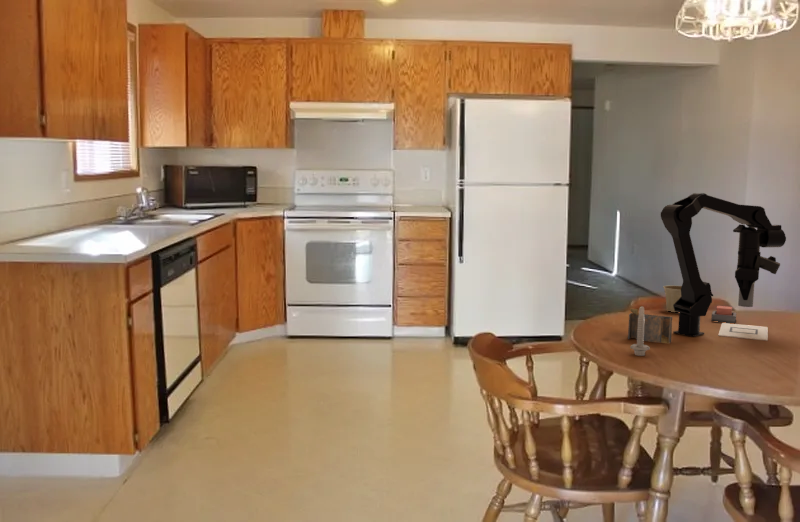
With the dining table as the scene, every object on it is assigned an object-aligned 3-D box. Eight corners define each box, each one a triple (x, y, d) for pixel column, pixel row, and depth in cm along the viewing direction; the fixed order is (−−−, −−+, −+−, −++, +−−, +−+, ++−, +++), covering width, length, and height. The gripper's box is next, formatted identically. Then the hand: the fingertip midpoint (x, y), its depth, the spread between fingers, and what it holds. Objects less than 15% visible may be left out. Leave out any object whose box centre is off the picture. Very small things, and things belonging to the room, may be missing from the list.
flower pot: (695, 314, 240) (696, 289, 239) (667, 314, 240) (668, 289, 239) (684, 309, 250) (686, 285, 249) (658, 309, 250) (659, 285, 249)
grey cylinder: (748, 307, 210) (751, 277, 209) (735, 305, 213) (737, 276, 212) (755, 306, 212) (757, 276, 211) (742, 304, 215) (743, 274, 214)
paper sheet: (767, 340, 202) (767, 339, 202) (718, 335, 208) (718, 334, 208) (767, 327, 219) (767, 326, 219) (721, 323, 225) (722, 322, 225)
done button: (731, 316, 226) (731, 309, 226) (716, 314, 228) (716, 307, 228) (731, 313, 230) (732, 306, 230) (717, 312, 232) (717, 305, 232)
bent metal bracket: (627, 340, 202) (629, 307, 201) (629, 338, 205) (631, 305, 204) (669, 345, 197) (671, 311, 196) (670, 343, 199) (672, 309, 198)
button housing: (735, 324, 225) (735, 316, 225) (711, 321, 228) (711, 314, 228) (735, 320, 231) (736, 312, 231) (712, 318, 234) (713, 310, 234)
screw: (632, 356, 182) (628, 352, 187) (651, 357, 181) (647, 352, 186) (634, 307, 181) (630, 304, 185) (653, 307, 180) (649, 304, 185)
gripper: (780, 251, 199) (776, 306, 200) (779, 246, 215) (775, 297, 217) (736, 249, 204) (733, 302, 206) (738, 244, 220) (735, 294, 222)
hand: (745, 299), depth 212 cm, fingers closed on grey cylinder, 4 cm apart
